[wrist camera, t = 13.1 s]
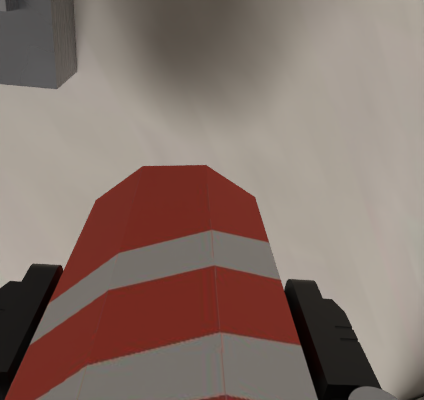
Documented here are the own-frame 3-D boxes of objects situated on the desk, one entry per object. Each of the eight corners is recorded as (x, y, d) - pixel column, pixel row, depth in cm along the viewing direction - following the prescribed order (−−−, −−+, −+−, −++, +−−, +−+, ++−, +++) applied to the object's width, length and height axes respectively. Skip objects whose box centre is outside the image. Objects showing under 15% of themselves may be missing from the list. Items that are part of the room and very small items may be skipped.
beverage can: (202, 324, 17) (220, 919, 6) (59, 252, 15) (-291, 939, 4) (299, 219, 15) (599, 846, 4) (147, 119, 13) (-91, 817, 2)
